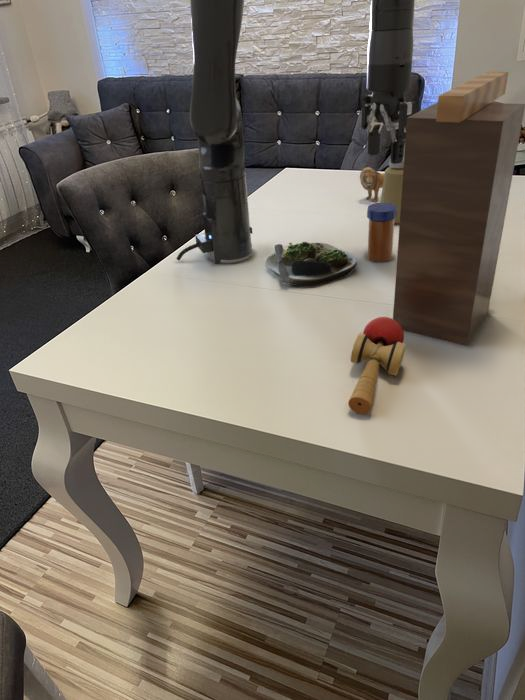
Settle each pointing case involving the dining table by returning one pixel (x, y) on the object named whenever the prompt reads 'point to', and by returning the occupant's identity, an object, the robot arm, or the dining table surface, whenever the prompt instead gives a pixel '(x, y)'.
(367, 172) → the lion figurine
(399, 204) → the squeeze bottle
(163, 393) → the dining table surface
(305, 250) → the salad plate
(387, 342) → the kendama
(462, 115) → the rod
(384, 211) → the jar lid
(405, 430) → the dining table surface
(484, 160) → the stand
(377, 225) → the jar
